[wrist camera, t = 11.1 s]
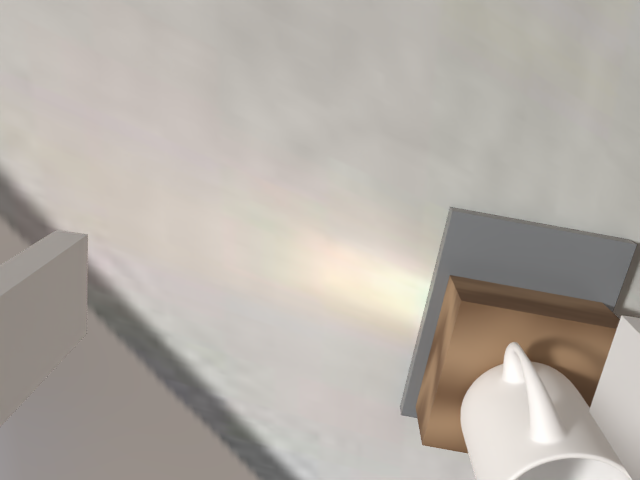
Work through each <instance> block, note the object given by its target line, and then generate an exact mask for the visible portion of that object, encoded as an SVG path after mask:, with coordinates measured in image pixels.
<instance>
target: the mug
mask: <svg viewBox="0 0 640 480" xmlns="http://www.w3.org/2000/svg"><path fill="white" fill-rule="evenodd" d="M589 410H590V408H589V406H588V405H587V403H586V402H585V400H584V399H583V397H582V396H581V394H580V393H579V391H578V390H577V389H576V388H575V386H574V385H573V384H572V383H571V381H570V380H569V379H568V378H566V377H565V376H564V375H563V374H562V373H560V372H559V371H557V370H556V369H554V368H552V367H550V366H548V365H545V364H542V363H537V362H531V361H530V360H529V358H528V357H527V355H526V354H525V352H524V351H523V349H522V348H521V347H520V345H519V344H518V343H517V342H512V343H510V344H509V345H508V346H507V348H506V351H505V354H504V362H503V364H501V365H498V366H495V367H493V368H491V369H489V370H488V371H486V372H485V373H483V374H482V375H481V376H480V377H478V378H477V379H476V380H475V381H474V382H473V384H472V385H471V386H470V388H469V389H468V391H467V392H466V394H465V396H464V399H463V402H462V406H461V417H460V420H461V428H462V432H463V436H464V439H465V443H466V446H467V450H468V453H469V456H470V460H471V463H472V467H473V470H474V473H475V477H476V480H632V479H631V477H630V475H629V474H628V472H627V471H626V469H625V468H624V466H623V464H622V463H621V461H620V460H619V458H618V456H617V455H616V453H615V452H614V450H613V449H612V447H611V445H610V444H609V442H608V441H607V439H606V437H605V436H604V434H603V433H602V431H601V430H600V428H599V426H598V425H597V423H596V422H595V420H594V418H593V417H592V415H591V414H590V412H589Z"/></svg>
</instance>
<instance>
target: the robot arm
mask: <svg viewBox="0 0 640 480" xmlns="http://www.w3.org/2000/svg"><path fill="white" fill-rule="evenodd" d="M87 252H88V234H81V233H74V232H68V231H61V230H56V231H54V232H53V233H51V234H49V235H48V236H46V237H45V238H43V239H41V240H40V241H38V242H36V243H35V244H33V245H32V246H30V247H28V248H27V249H25V250H24V251H22V252H20V253H19V254H17V255H15V256H14V257H12V258H11V259H9V260H7V261H6V262H4V263H3V264H1V265H0V427H1V426H2V425H3V423H4V422H5V421H6V420H7V419H8V418H9V417H10V416H11V415H12V414H13V413H14V412H15V411H16V410H17V408H18V407H19V406H20V405H21V404H22V403H23V402H24V401H25V400H26V399H27V398H28V397H29V396H30V395H31V393H32V392H33V391H34V390H35V389H36V388H37V387H38V386H39V385H40V384H41V383H42V382H43V381H44V379H45V378H46V377H47V376H48V375H49V374H50V373H51V372H52V371H53V370H54V368H55V367H57V365H58V364H59V363H60V362H61V361H62V360H63V359H64V358H65V357H66V356H67V355H68V354H69V353H70V352H71V350H72V349H73V348H74V347H75V346H76V345H77V344H78V343H79V342H80V341H81V340H82V339H83V338H84V337H85V335H86V334H87ZM589 412H590V414H591V415H592V417H593V418H594V420H595V422H596V423H597V425H598V426H599V428H600V430H601V431H602V433H603V434H604V436H605V437H606V439H607V441H608V442H609V444H610V445H611V447H612V449H613V450H614V452H615V453H616V455H617V456H618V458H619V460H620V461H621V463H622V464H623V466H624V468H625V469H626V471H627V472H628V474H629V475H630V477H631V479H632V480H640V318H637V317H630V316H623V315H621V318H620V321H619V324H618V327H617V330H616V333H615V336H614V339H613V342H612V345H611V348H610V350H609V353H608V356H607V359H606V362H605V365H604V368H603V371H602V374H601V377H600V380H599V383H598V386H597V389H596V392H595V395H594V398H593V401H592V404H591V407H590V410H589Z"/></svg>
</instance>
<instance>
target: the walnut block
mask: <svg viewBox="0 0 640 480" xmlns="http://www.w3.org/2000/svg"><path fill="white" fill-rule="evenodd" d="M619 321H620V319H619V318H618V317H617V316H616V315H615V314H614V313H613V312H612V311H610V310H609V309H608V308H607V307H606V306H605V305H604V304H603V303H602V302H596V301H591V300H585V299H580V298H574V297H569V296H563V295H557V294H552V293H546V292H541V291H535V290H530V289H524V288H519V287H513V286H508V285H502V284H497V283H491V282H486V281H480V280H475V279H469V278H464V277H458V276H453V275H450V276H449V280H448V284H447V288H446V291H445V295H444V299H443V303H442V307H441V311H440V315H439V318H438V322H437V326H436V330H435V334H434V338H433V342H432V345H431V349H430V353H429V357H428V361H427V365H426V369H425V372H424V376H423V380H422V384H421V388H420V392H419V396H418V399H417V403H416V413H417V418H418V424H419V429H420V435H421V440H422V445H425V446H430V447H436V448H441V449H447V450H452V451H458V452H463V453H468V450H467V446H466V443H465V439H464V436H463V432H462V428H461V420H460V417H461V406H462V402H463V399H464V396H465V394H466V392H467V391H468V389H469V388H470V386H471V385H472V384H473V382H474V381H475V380H476V379H477V378H478V377H480V376H481V375H482V374H483V373H485V372H486V371H488V370H489V369H491V368H493V367H495V366H498V365H501V364H503V362H504V354H505V351H506V348H507V346H508V345H509V344H510V343H512V342H517V343H518V344H519V345H520V347H521V348H522V349H523V351H524V352H525V354H526V355H527V357H528V358H529V360H530V361H531V362H537V363H542V364H545V365H548V366H550V367H552V368H554V369H556V370H557V371H559V372H560V373H562V374H563V375H564V376H565V377H566V378H568V379H569V380H570V381H571V383H572V384H573V385H574V386H575V388H576V389H577V390H578V391H579V393H580V394H581V396H582V397H583V399H584V400H585V402H586V403H587V405H588V406H589V408H590V407H591V404H592V401H593V398H594V395H595V392H596V389H597V386H598V383H599V380H600V377H601V374H602V371H603V368H604V365H605V362H606V359H607V356H608V353H609V350H610V348H611V345H612V342H613V339H614V336H615V333H616V330H617V327H618V324H619Z"/></svg>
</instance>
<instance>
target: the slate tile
mask: <svg viewBox="0 0 640 480" xmlns="http://www.w3.org/2000/svg"><path fill="white" fill-rule="evenodd" d="M636 246H637V244H636V243H634V242H632V241H631V240H629V239H623V238H618V237H612V236H607V235H601V234H596V233H590V232H585V231H579V230H574V229H568V228H563V227H557V226H552V225H546V224H541V223H535V222H530V221H524V220H519V219H513V218H508V217H502V216H497V215H491V214H486V213H480V212H475V211H469V210H464V209H458V208H453V207H450V209H449V213H448V217H447V221H446V225H445V229H444V233H443V237H442V241H441V245H440V249H439V253H438V257H437V261H436V265H435V269H434V273H433V277H432V281H431V285H430V289H429V293H428V297H427V301H426V305H425V309H424V313H423V317H422V321H421V325H420V329H419V333H418V337H417V341H416V345H415V349H414V353H413V357H412V361H411V365H410V369H409V373H408V377H407V381H406V385H405V389H404V393H403V397H402V401H401V405H400V410H401V415H403V416H409V417H414V418H417V413H416V403H417V399H418V396H419V392H420V388H421V384H422V380H423V376H424V372H425V369H426V365H427V361H428V357H429V353H430V349H431V345H432V342H433V338H434V334H435V330H436V326H437V322H438V318H439V315H440V311H441V307H442V303H443V299H444V295H445V291H446V288H447V284H448V280H449V276H450V275H453V276H458V277H464V278H469V279H475V280H480V281H486V282H491V283H497V284H502V285H508V286H513V287H519V288H524V289H530V290H535V291H541V292H546V293H552V294H557V295H563V296H569V297H574V298H580V299H585V300H591V301H596V302H602V303H603V304H604V305H605V306H606V307H607V308H608V309H609V310H610V311H612V312H613V310H614V307H615V304H616V302H617V299H618V296H619V293H620V290H621V288H622V285H623V282H624V279H625V276H626V274H627V271H628V268H629V265H630V263H631V260H632V257H633V254H634V251H635V249H636Z"/></svg>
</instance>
